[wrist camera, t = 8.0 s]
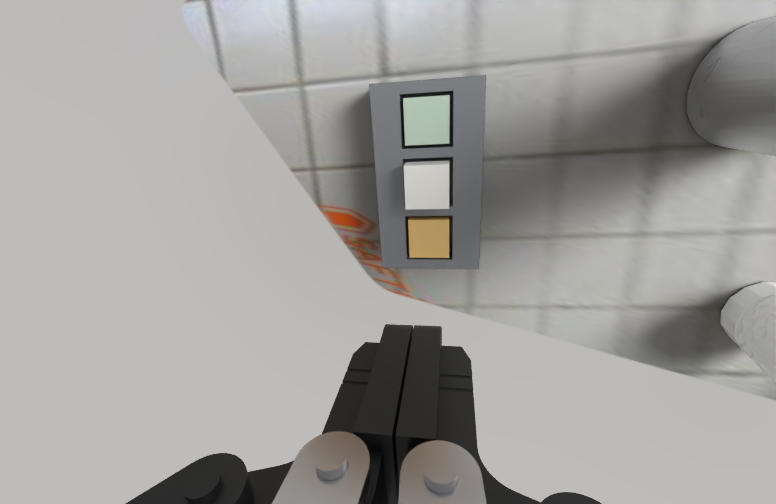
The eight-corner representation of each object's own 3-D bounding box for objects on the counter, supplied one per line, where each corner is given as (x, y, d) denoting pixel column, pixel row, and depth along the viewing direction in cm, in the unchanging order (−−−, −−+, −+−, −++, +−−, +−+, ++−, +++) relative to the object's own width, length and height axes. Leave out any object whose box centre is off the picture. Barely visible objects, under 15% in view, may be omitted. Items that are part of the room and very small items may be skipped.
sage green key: (449, 95, 30) (449, 95, 28) (449, 141, 31) (449, 143, 29) (406, 98, 31) (403, 98, 29) (407, 143, 32) (405, 145, 30)
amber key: (449, 213, 34) (449, 219, 32) (449, 249, 35) (449, 257, 33) (410, 213, 34) (408, 220, 32) (411, 249, 36) (409, 257, 34)
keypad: (481, 78, 31) (485, 75, 27) (476, 252, 37) (479, 268, 33) (378, 86, 33) (369, 84, 29) (388, 252, 39) (382, 267, 35)
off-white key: (449, 160, 30) (449, 164, 29) (449, 202, 32) (449, 208, 30) (406, 162, 31) (403, 165, 29) (408, 203, 32) (405, 209, 30)
